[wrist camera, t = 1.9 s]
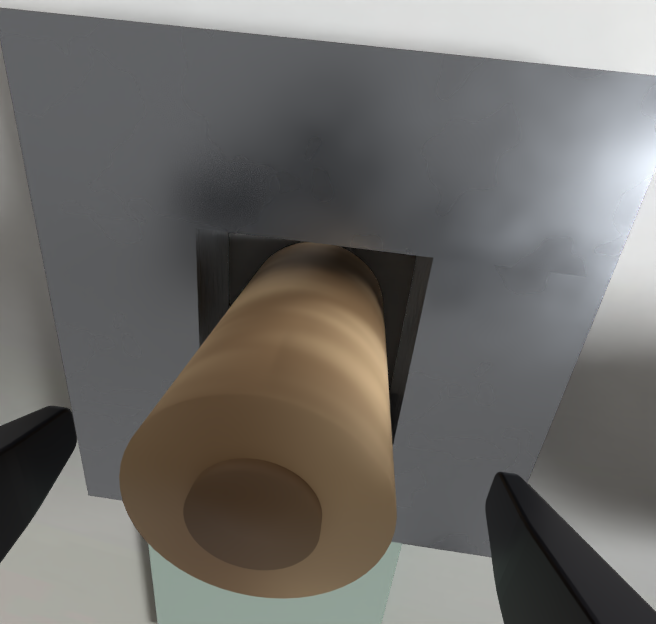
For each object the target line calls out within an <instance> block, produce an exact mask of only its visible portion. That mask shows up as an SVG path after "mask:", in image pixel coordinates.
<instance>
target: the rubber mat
mask: <svg viewBox="0 0 656 624" xmlns="http://www.w3.org/2000/svg"><path fill="white" fill-rule="evenodd" d="M401 545H402V543H395V542H391V544H390V545H389V547H388V549H387V551H386V553H385V554H384V556H383V557H382V558H381V559H380V560H379V562H378V563H377V564H376V565H375V566H374V567H373V568H372V569H371V570H370V571H368V572H367V573H366V574H365V575H363V576H362V577H360V578H359V579H357V580H356V581H354V582H352V583H350V584H348V585H346V586H344V587H342V588H339V589H336V590H333V591H331V592H327V593H323V594H319V595H315V596H309V597H301V598H286V599H281V598H264V597H255V596H249V595H244V594H239V593H235V592H231V591H228V590H224V589H221V588H218V587H216V586H213V585H210V584H208V583H205V582H203V581H201V580H199V579H197V578H195V577H193V576H191V575H189V574H187V573H186V572H184V571H182V570H180V569H179V568H177V567H176V566H174V565H173V564H171V563H170V562H169V561H167V560H166V559H165V558H163V557H162V556H161V555H160V554H159V553H158V552H156V551H155V550H154V549H153V548H152V547H151V546H150V545H149V544H148V546H149V555H150V563H151V572H152V580H153V588H154V597H155V605H156V614H157V622H158V624H381V622H382V619H383V615H384V611H385V607H386V603H387V599H388V596H389V592H390V588H391V584H392V580H393V576H394V572H395V569H396V565H397V561H398V557H399V553H400V549H401Z"/></svg>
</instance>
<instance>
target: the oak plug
mask: <svg viewBox="0 0 656 624" xmlns="http://www.w3.org/2000/svg"><path fill="white" fill-rule="evenodd" d="M119 482H120V491H121V496H122V500H123V503H124V506H125V508H126V511H127V513H128V515H129V517H130V519H131V521H132V522H133V524H134V526H135V528H136V529H137V530H138V532H139V533H140V534H141V536H142V537H143V538H144V539H145V540H146V541H147V542H148V544H149V545H150V546H151V547H152V548H153V549H154V550H155V551H156V552H158V553H159V554H160V555H161V556H162V557H163V558H165V559H166V560H167V561H169V562H170V563H171V564H173V565H174V566H176V567H177V568H179V569H180V570H182V571H184V572H186V573H187V574H189V575H191V576H193V577H195V578H197V579H199V580H201V581H203V582H205V583H208V584H210V585H213V586H216V587H218V588H221V589H224V590H228V591H231V592H235V593H239V594H244V595H249V596H255V597H264V598H281V599H286V598H301V597H309V596H315V595H319V594H323V593H327V592H331V591H333V590H336V589H339V588H342V587H344V586H346V585H348V584H350V583H352V582H354V581H356V580H357V579H359V578H360V577H362V576H363V575H365V574H366V573H367V572H368V571H370V570H371V569H372V568H373V567H374V566H375V565H376V564H377V563H378V562H379V560H380V559H381V558H382V557H383V556H384V554H385V553H386V551H387V549H388V547H389V545H390V544H391V541H392V538H393V535H394V532H395V527H396V520H397V509H396V492H395V476H394V461H393V446H392V431H391V415H390V400H389V385H388V369H387V354H386V339H385V323H384V308H383V297H382V292H381V289H380V286H379V283H378V281H377V279H376V277H375V275H374V274H373V273H372V271H371V270H370V268H369V267H368V266H367V265H366V264H365V263H364V262H363V261H362V260H361V259H360V258H359V257H357V256H356V255H355V254H353V253H351V252H350V251H348V250H346V249H344V248H342V247H339V246H335V245H327V244H319V243H311V242H302V243H297V244H293V245H290V246H287V247H285V248H283V249H281V250H279V251H277V252H276V253H274V254H273V255H272V256H270V257H269V258H268V259H267V260H266V261H265V262H264V263H263V265H262V266H261V267H260V268H259V270H258V271H257V272H256V274H255V275H254V276H253V278H252V279H251V280H250V282H249V283H248V284H247V286H246V287H245V288H244V290H243V291H242V292H241V294H240V295H239V296H238V298H237V299H236V300H235V301H234V303H233V304H232V305H231V307H230V308H229V309H228V311H227V312H226V313H225V315H224V316H223V317H222V319H221V320H220V321H219V323H218V324H217V325H216V327H215V328H214V329H213V331H212V332H211V333H210V335H209V336H208V337H207V339H206V340H205V341H204V343H203V344H202V345H201V347H200V348H199V349H198V350H197V352H196V353H195V354H194V356H193V357H192V358H191V360H190V361H189V362H188V364H187V365H186V366H185V368H184V369H183V370H182V372H181V373H180V374H179V376H178V377H177V378H176V380H175V381H174V382H173V384H172V385H171V386H170V388H169V389H168V390H167V392H166V393H165V394H164V396H163V397H162V398H161V400H160V401H159V402H158V403H157V405H156V406H155V407H154V409H153V410H152V411H151V413H150V414H149V415H148V417H147V418H146V419H145V421H144V422H143V423H142V425H141V426H140V427H139V429H138V430H137V431H136V433H135V434H134V435H133V437H132V438H131V440H130V441H129V443H128V445H127V447H126V449H125V451H124V454H123V457H122V460H121V465H120V473H119Z"/></svg>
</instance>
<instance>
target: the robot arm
mask: <svg viewBox="0 0 656 624" xmlns="http://www.w3.org/2000/svg"><path fill="white" fill-rule="evenodd" d="M76 443H77V435H76V430H75V425H74V420H73V415H72V412H71V411H70V409H68V408H64V407H57V406H48V407H45V408H42V409H40V410H38V411H35V412H33V413H30V414H28V415H26V416H23V417H21V418H18V419H16V420H14V421H11V422H9V423H6V424H4V425H2V426H0V563H1V561H2V560H3V559H4V557H5V556H6V555H7V553H8V552H9V550H10V549H11V548H12V546H13V545H14V544H15V542H16V541H17V539H18V538H19V537H20V535H21V534H22V533H23V531H24V530H25V528H26V527H27V526H28V524H29V523H30V521H31V520H32V518H33V517H34V515H35V514H36V512H37V511H38V509H39V508H40V506H41V504H42V503H43V501H44V499H45V498H46V496H47V494H48V493H49V491H50V489H51V488H52V486H53V484H54V483H55V481H56V479H57V478H58V476H59V474H60V473H61V471H62V469H63V468H64V466H65V464H66V463H67V461H68V459H69V457H70V456H71V454H72V452H73V451H74V449H75V446H76ZM485 513H486V520H487V528H488V535H489V542H490V550H491V557H492V564H493V572H494V578H495V585H496V591H497V595H498V600H499V604H500V609H501V613H502V617H503V621H504V624H656V611H655V610H654V609H653V608H652V607H651V606H650V605H649V604H648V603H647V602H646V601H645V600H644V599H643V598H642V597H641V596H640V595H639V594H638V593H637V592H636V591H635V590H634V589H633V588H632V587H631V586H630V585H629V584H628V583H627V582H626V581H625V580H624V579H623V578H622V577H621V576H620V575H619V574H618V573H617V572H616V571H615V570H614V569H613V568H612V567H611V566H610V565H609V564H608V563H607V562H606V561H605V560H604V559H603V558H602V557H601V556H600V555H599V554H598V553H597V552H596V551H595V550H594V549H593V548H592V547H591V546H590V545H589V544H588V543H587V542H586V541H585V540H584V539H583V538H582V537H581V536H580V535H579V534H578V533H577V532H576V531H575V530H574V529H573V528H572V527H571V526H570V525H569V524H568V523H567V522H566V521H565V520H564V519H563V518H562V517H561V516H560V515H559V514H558V513H557V512H556V511H555V510H554V509H553V508H552V507H551V506H550V505H549V504H548V503H547V502H546V501H545V500H544V499H543V498H542V497H541V496H540V495H539V494H538V493H537V492H536V491H535V490H534V489H533V488H532V487H531V486H530V485H529V484H528V483H527V482H526V481H525V480H524V479H523V478H522V477H521V476H519V475H518V474H514V473H507V472H497V473H496V474H495V476H494V479H493V482H492V484H491V487H490V490H489V493H488V496H487V498H486V503H485Z"/></svg>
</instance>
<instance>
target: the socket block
mask: <svg viewBox="0 0 656 624" xmlns="http://www.w3.org/2000/svg"><path fill="white" fill-rule="evenodd" d="M0 41H1V46H2V51H3V56H4V62H5V67H6V72H7V77H8V82H9V87H10V93H11V98H12V103H13V108H14V113H15V118H16V124H17V129H18V134H19V139H20V144H21V149H22V154H23V160H24V165H25V170H26V175H27V180H28V185H29V191H30V196H31V201H32V206H33V211H34V216H35V222H36V227H37V232H38V237H39V242H40V247H41V253H42V258H43V263H44V268H45V273H46V278H47V284H48V289H49V294H50V299H51V304H52V309H53V314H54V320H55V325H56V330H57V335H58V340H59V345H60V351H61V356H62V361H63V366H64V371H65V376H66V382H67V387H68V392H69V397H70V402H71V407H72V413H73V418H74V423H75V428H76V433H77V438H78V443H79V449H80V454H81V459H82V464H83V469H84V474H85V480H86V485H87V490H88V495H90V496H96V497H103V498H109V499H116V500H122V496H121V491H120V482H119V473H120V465H121V460H122V457H123V454H124V451H125V449H126V447H127V445H128V443H129V441H130V440H131V438H132V437H133V435H134V434H135V433H136V431H137V430H138V429H139V427H140V426H141V425H142V423H143V422H144V421H145V419H146V418H147V417H148V415H149V414H150V413H151V411H152V410H153V409H154V407H155V406H156V405H157V403H158V402H159V401H160V400H161V398H162V397H163V396H164V394H165V393H166V392H167V390H168V389H169V388H170V386H171V385H172V384H173V382H174V381H175V380H176V378H177V377H178V376H179V374H180V373H181V372H182V370H183V369H184V368H185V366H186V365H187V364H188V362H189V361H190V360H191V358H192V357H193V356H194V354H195V353H196V352H197V350H198V349H199V348H200V347H201V345H202V344H203V343H204V341H205V340H206V339H207V337H208V336H209V335H210V333H211V332H212V331H213V329H214V328H215V327H216V325H217V324H218V323H219V321H220V320H221V319H222V317H223V316H224V315H225V313H226V312H227V311H228V309H229V232H231V233H239V234H247V235H255V236H263V237H271V238H279V239H287V240H295V241H303V242H311V243H319V244H327V245H335V246H344V247H352V248H360V249H368V250H376V251H384V252H392V253H400V254H408V255H416V256H417V257H416V262H415V267H414V272H413V277H412V282H411V287H410V292H409V297H408V302H407V308H406V313H405V318H404V323H403V328H402V333H401V338H400V343H399V348H398V353H397V358H396V363H395V368H394V373H393V379H392V384H391V389H390V393H389V400H390V415H391V431H392V446H393V461H394V476H395V492H396V509H397V520H396V527H395V532H394V535H393V538H392V541H391V542H395V543H402V544H408V545H415V546H421V547H428V548H434V549H441V550H447V551H454V552H460V553H467V554H473V555H480V556H486V557H491V550H490V542H489V535H488V528H487V520H486V513H485V503H486V498H487V496H488V493H489V490H490V487H491V484H492V482H493V479H494V476H495V474H496V473H497V472H507V473H514V474H518V475H519V476H521V477H522V478H523V479H524V480H525V481H526V482H528V480H529V477H530V475H531V472H532V470H533V467H534V465H535V462H536V460H537V458H538V455H539V453H540V450H541V448H542V445H543V443H544V440H545V438H546V436H547V433H548V431H549V428H550V426H551V423H552V421H553V418H554V416H555V414H556V411H557V409H558V406H559V404H560V401H561V399H562V396H563V394H564V392H565V389H566V387H567V384H568V382H569V379H570V377H571V374H572V372H573V370H574V367H575V365H576V362H577V360H578V357H579V355H580V352H581V350H582V348H583V345H584V343H585V340H586V338H587V335H588V333H589V331H590V328H591V326H592V323H593V321H594V318H595V316H596V313H597V311H598V309H599V306H600V304H601V301H602V299H603V296H604V294H605V291H606V289H607V287H608V284H609V282H610V279H611V277H612V274H613V272H614V269H615V267H616V265H617V262H618V260H619V257H620V255H621V252H622V250H623V247H624V245H625V243H626V240H627V238H628V235H629V233H630V230H631V228H632V225H633V223H634V221H635V218H636V216H637V213H638V211H639V208H640V206H641V203H642V201H643V199H644V196H645V194H646V191H647V189H648V186H649V184H650V182H651V179H652V177H653V174H654V172H655V169H656V76H654V75H645V74H635V73H626V72H616V71H606V70H597V69H587V68H577V67H568V66H558V65H548V64H539V63H529V62H519V61H510V60H500V59H490V58H481V57H471V56H461V55H452V54H442V53H432V52H423V51H413V50H403V49H394V48H384V47H374V46H365V45H355V44H345V43H336V42H326V41H316V40H307V39H297V38H287V37H278V36H268V35H258V34H249V33H239V32H229V31H220V30H210V29H200V28H191V27H181V26H172V25H162V24H152V23H143V22H133V21H123V20H114V19H104V18H94V17H85V16H75V15H65V14H56V13H46V12H36V11H27V10H17V9H7V8H0ZM122 501H123V500H122Z"/></svg>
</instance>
